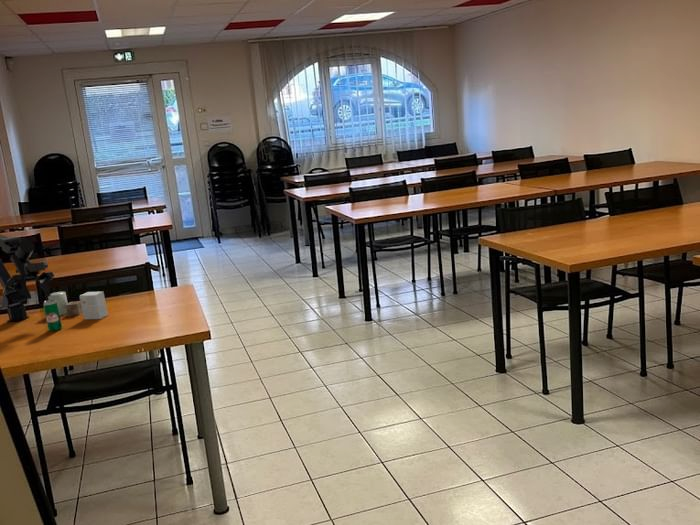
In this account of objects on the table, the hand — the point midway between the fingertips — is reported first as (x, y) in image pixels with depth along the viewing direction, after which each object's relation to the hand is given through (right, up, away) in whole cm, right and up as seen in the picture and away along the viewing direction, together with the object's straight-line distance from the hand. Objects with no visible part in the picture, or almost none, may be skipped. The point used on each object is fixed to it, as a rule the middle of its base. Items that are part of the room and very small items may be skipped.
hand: (40, 297), depth 265 cm
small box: (+19, -9, +9) cm, 23 cm away
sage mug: (-1, -8, +21) cm, 22 cm away
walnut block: (+7, -8, +18) cm, 21 cm away
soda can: (+8, -13, -3) cm, 16 cm away
